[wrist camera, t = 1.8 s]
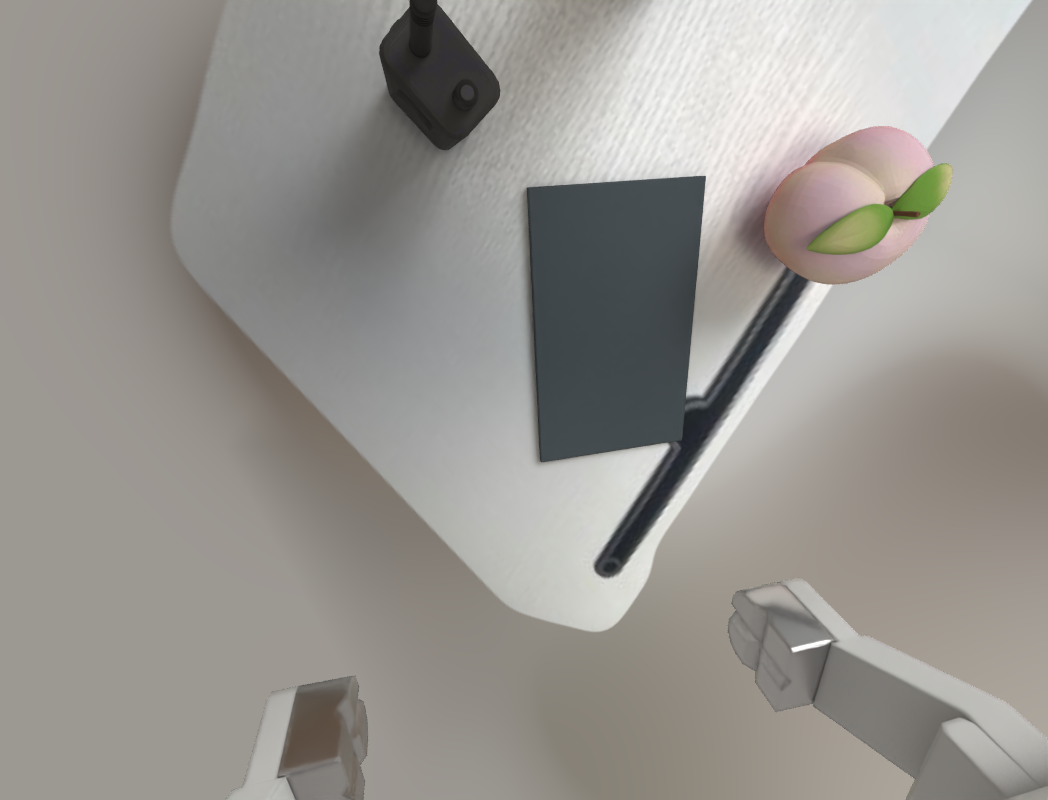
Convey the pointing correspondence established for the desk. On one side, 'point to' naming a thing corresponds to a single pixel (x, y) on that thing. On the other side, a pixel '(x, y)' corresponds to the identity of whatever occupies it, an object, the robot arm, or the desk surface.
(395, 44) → the walkie-talkie
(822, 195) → the decorative fruit
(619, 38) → the desk surface
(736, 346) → the desk surface
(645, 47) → the desk surface
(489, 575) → the desk surface
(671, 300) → the mat
